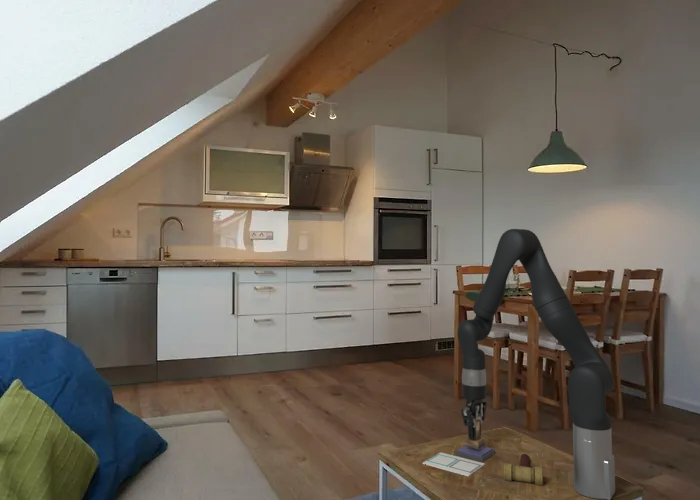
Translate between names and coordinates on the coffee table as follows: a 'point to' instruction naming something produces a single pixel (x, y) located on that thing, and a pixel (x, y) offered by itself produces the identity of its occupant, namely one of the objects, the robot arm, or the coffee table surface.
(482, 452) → the ink pad
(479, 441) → the stamp
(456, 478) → the coffee table surface
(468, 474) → the sheet
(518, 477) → the gavel
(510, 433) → the coffee table surface
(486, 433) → the coffee table surface
